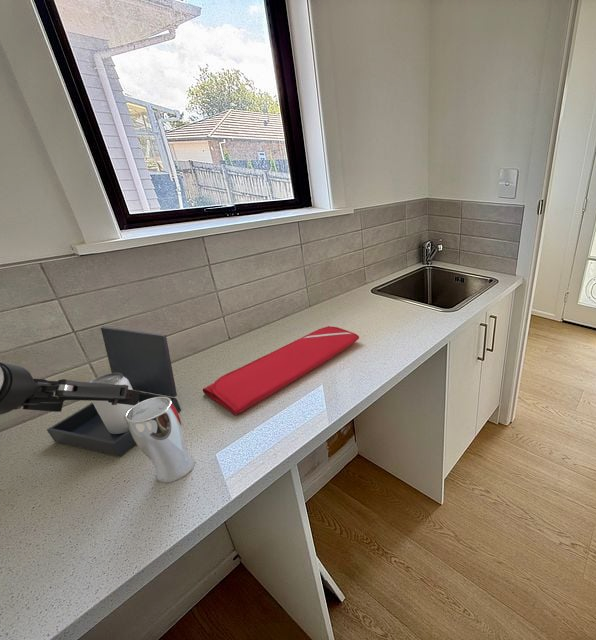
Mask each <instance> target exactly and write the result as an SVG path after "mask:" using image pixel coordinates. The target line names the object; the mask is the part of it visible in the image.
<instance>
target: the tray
mask: <svg viewBox="0 0 596 640" xmlns="http://www.w3.org/2000/svg"><path fill="white" fill-rule="evenodd" d="M154 397H168V398H170V399H171V401H172V403H173V405H174V407H175V408H176V410H177V412H178V413H179V412H181V411H182V408H181V406H180V404H179V401H178V399H177V397H170V396H165V395H159V394H153V393H147V392H142V391H140V394H139V400H138V401H139V403H140V402H142V401H144V400H147V399H150V398H154ZM46 431H47V433H48V434H49V436H50V437H51V439H52V441H53V442H54V443H56V444H60V445H65V446H69V447H74V448H79V449H82V450H83V449H84V450H87V451H92V452H96V453H100V454H105V455H110V456H115V457H118V458H121V457H122V456H124V455H125V454H127V453H128V452H129V451H130V450H131V449H133V448H134V447H135V446H137V444H136V443H135V441H134V439H133V438H132V435H131V433H130V431H128V432H126V433H124V434H112V433H110V432H109V431H108V430H107V428H106V426H105V424H104V423H103V421H102V419H101V417H100V415H99V414H98V412H97V410H96V408H95V406H94V405H93V403H92V402H91V403H89V404H88V405H85V406H84V407H82V408H80V409H79V410H77V411H75V412H74V413H72V414H71V415H69V416H67V417H66V418H63V419H62V420H61V421H59V422H57V423H55V424H54V425H52V426H50V427H49V428H47V429H46Z"/></svg>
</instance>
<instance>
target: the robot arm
mask: <svg viewBox="0 0 596 640" xmlns="http://www.w3.org/2000/svg"><path fill="white" fill-rule="evenodd" d="M90 382H91V381H89V382H88V381H77V380H72V379H71V380H70V379H67V378H62V379H58V380H47V379H45V378H33V376H32V374H31V372H30V371H29V370H27V369H26V368H24V367H23V366H20V365H16V364H11V363H6V362H0V416H2V415H5V414H7V413H10V412H12V411H15V410H20V409H21V408H22V410H25V411H40V412H53V413H57V412H58V413H59V412H60V413H61V412H62V411H63V410H62V409H63V405H64V402H65V401H89V402H90V401H91V402H92V401H108V402H110V403H112V404H111V405H117V403H118V404H127V405H136V404H138V400H139V394H140V392H141V391H136V390H129V389H128V385H116V384H103V383H90Z"/></svg>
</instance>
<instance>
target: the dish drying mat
mask: <svg viewBox="0 0 596 640" xmlns="http://www.w3.org/2000/svg"><path fill="white" fill-rule="evenodd" d="M359 339H360V335H359V334H357V333H355V332H352V331H350V330H346V329H344V328H342V327H338V326H330V325H328V326H325V327H324V326H323V327H321V328H318V329H316V330H314V331H311V332H310V333H308V334H306V335H304V336H301V337H300V338H298V339H296V340H293V341H292V342H290V343H288V344H286V345H284V346H282V347H279V348H278V349H275V350H274V351H271V352H270V353H267V354H265V355H263V356H261V357H259V358H257V359H255V360H253V361H251V362H249V363H246V364H245V365H243V366H241V367H239V368H236V369H234V370H231V371H229V372H228V373H225V374H224V375H221V376H220V377H219V378H217V379H216V380H215V381H214V382H213V383H211V384H209V385H208V386H206V387H203V388H202V392H203V394H204V395H205V396H207V397H208V398H210V399H211V400H213V401H214V402H215V403H218V404H219V405H220V406H221V407H223V408H224V409H226V410H227V411H228V412H230V413H231V414H232V415H234V416H237V415H238V414H240V413H242V412H244V411H245V410H247V409H250V407H253V406H254V405H256V404H258V403H259V402H261V401H262V400H265V399H266V398H268V397H269V396H271V395H273V394H274V393H277V392H278V391H279V390H281V389H283V388H284V387H286V386H288V385H290V384H291V383H293V382H295V381H296V380H298V379H300V378H301V377H303V376H305V375H306V374H308V373H309V372H310V371H313V369H315V368H317V367H319V366H320V365H322V364H324V363H325V362H327V361H329V360H330V359H332V358H333V357H336V355H338V354H339V353H341V352H343V351H344V350H346V349H348V347H351V345H353V344H354V343H356V342H357V341H358V340H359Z"/></svg>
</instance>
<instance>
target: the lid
mask: <svg viewBox="0 0 596 640" xmlns="http://www.w3.org/2000/svg"><path fill="white" fill-rule="evenodd" d="M100 330H101V335H102V339H103V343H104V347H105V351H106V355H107V360H108V364H109V369H110V373H121V374H123V377H125V378H127V379H128V381H129V383H130V385H131V387H132V389H133V390H134V391H140V392H144V393H150V394H155V395H161V396H167V397H173V398H176V397H177V396H178V392H177V389H176V388H177V387H176V382H175V375H174V372H173V366H172V360H171V354H170V348H169V345H168V338H167V335H166V334H161V333H160V334H159V333H153V332H145V331H138V330H132V329H131V330H130V329H123V328H115V327H107V326H103V327H100Z"/></svg>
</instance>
